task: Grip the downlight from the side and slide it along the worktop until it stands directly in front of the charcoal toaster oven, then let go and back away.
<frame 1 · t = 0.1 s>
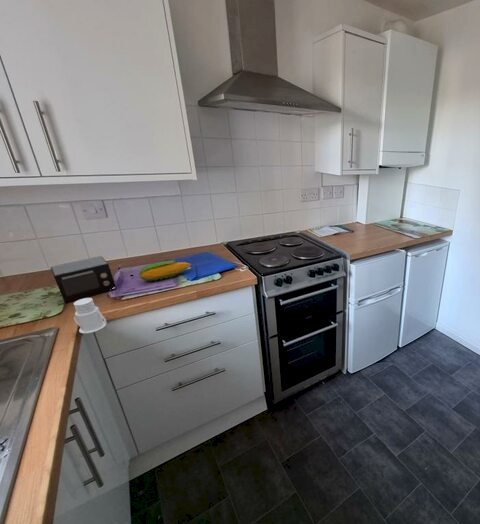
corn: (168, 277, 134), on the worktop
toaster oven: (89, 291, 121), on the worktop
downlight: (93, 328, 99), on the worktop
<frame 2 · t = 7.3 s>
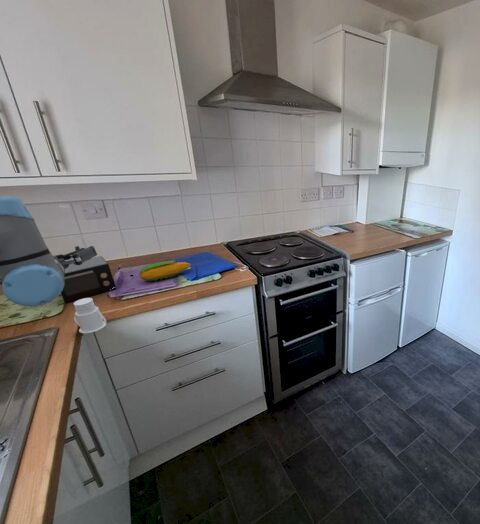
hand: (46, 258, 79), 29 cm above the worktop, tool horizontal, fingers open, 13 cm apart
nothing on the worktop moved.
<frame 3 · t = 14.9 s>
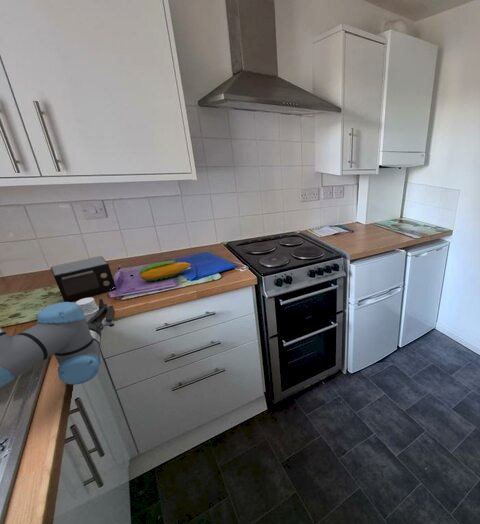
hand: (88, 305, 100), 6 cm above the worktop, tool horizontal, fingers closed on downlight, 7 cm apart
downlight: (94, 327, 99), on the worktop, touching gripper
everything else where it was.
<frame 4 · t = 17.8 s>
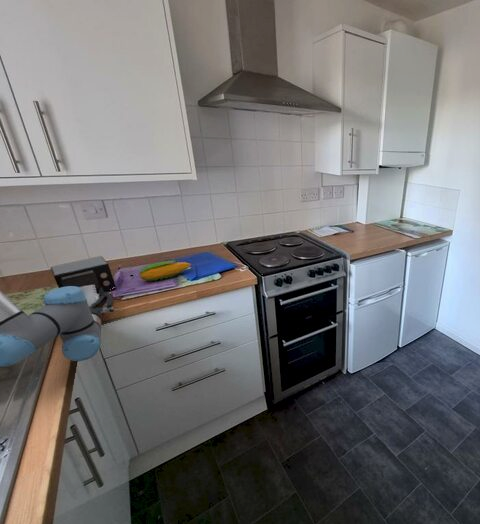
hand: (89, 293, 107), 6 cm above the worktop, tool horizontal, fingers closed on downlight, 6 cm apart
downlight: (93, 314, 103), point 1 cm above the worktop, touching gripper
everything else where it was.
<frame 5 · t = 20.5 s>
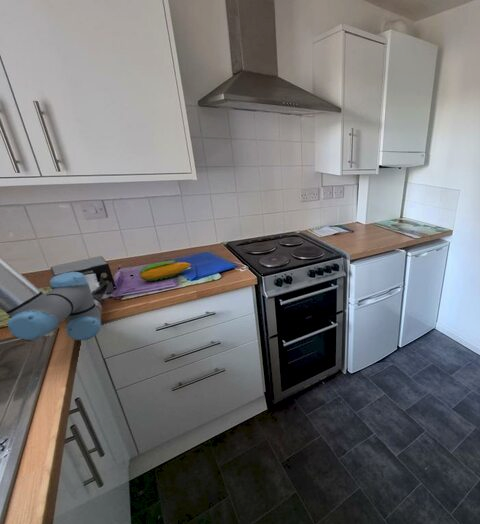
hand: (90, 282, 115), 6 cm above the worktop, tool horizontal, fingers closed on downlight, 6 cm apart
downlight: (93, 301, 111), point 1 cm above the worktop, touching gripper
everything else where it was.
when the fingers open (6 cm above the worktop, at t = 20.8 s): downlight drops 1 cm, on the worktop.
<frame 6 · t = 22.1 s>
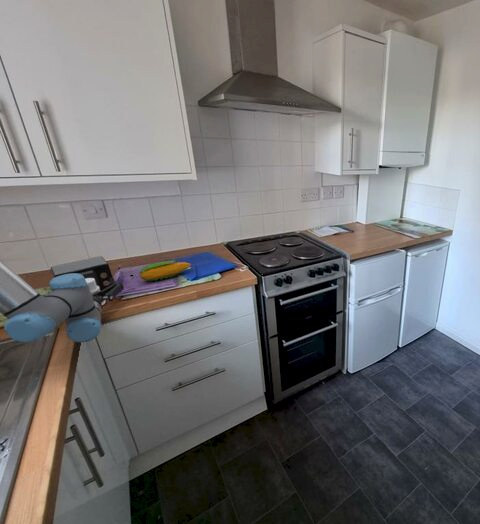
hand: (89, 285, 113), 6 cm above the worktop, tool horizontal, fingers open, 13 cm apart
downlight: (94, 305, 112), on the worktop
everything else where it was.
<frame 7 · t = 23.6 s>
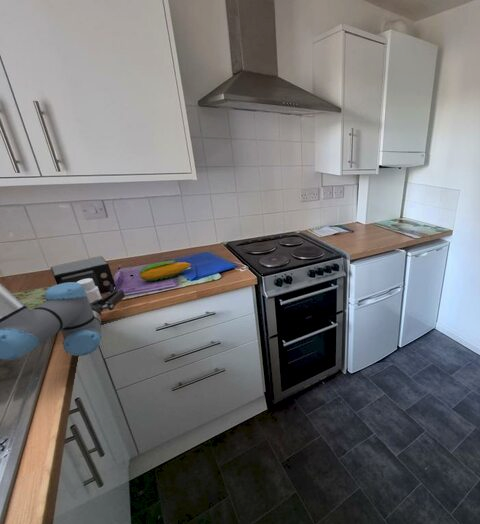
hand: (88, 292, 107), 6 cm above the worktop, tool horizontal, fingers open, 13 cm apart
nothing on the worktop moved.
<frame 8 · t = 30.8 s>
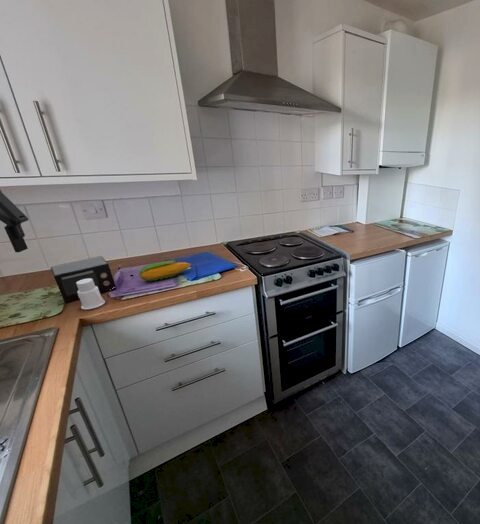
nothing on the worktop moved.
at the end: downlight 2.7 cm from the target spot on the worktop beside the toaster oven, on the worktop; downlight tilted 0°; the gripper is holding nothing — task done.
